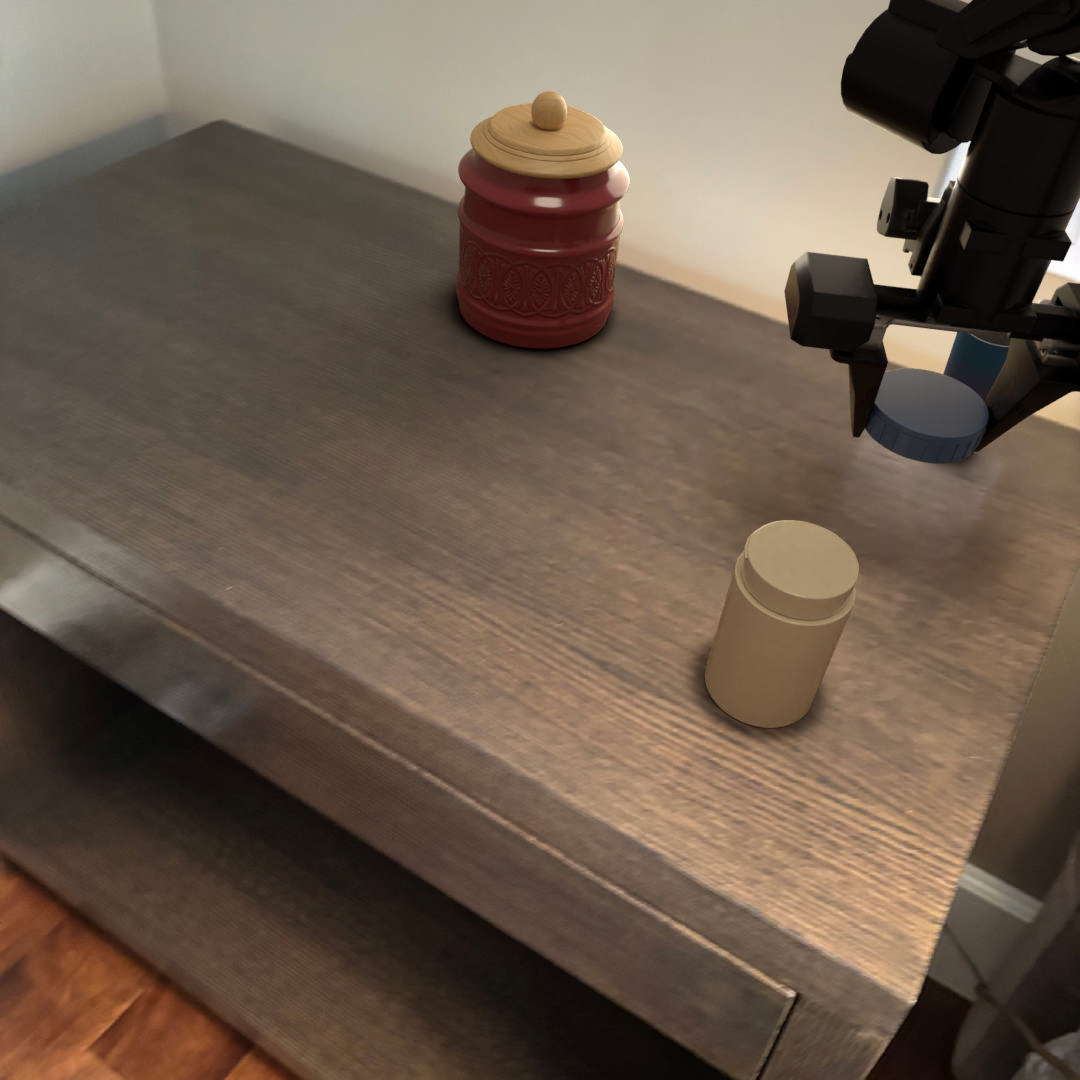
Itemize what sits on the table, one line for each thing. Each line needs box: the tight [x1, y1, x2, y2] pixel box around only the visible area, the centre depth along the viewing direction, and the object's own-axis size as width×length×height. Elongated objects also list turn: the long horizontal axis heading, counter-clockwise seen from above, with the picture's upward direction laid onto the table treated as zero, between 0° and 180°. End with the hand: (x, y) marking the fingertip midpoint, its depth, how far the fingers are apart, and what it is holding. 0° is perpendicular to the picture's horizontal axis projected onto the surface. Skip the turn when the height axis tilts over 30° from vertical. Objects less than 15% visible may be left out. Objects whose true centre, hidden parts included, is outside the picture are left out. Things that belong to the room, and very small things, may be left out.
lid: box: [864, 367, 989, 465], centre depth 60 cm, size 7×7×2 cm
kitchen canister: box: [455, 90, 631, 349], centre depth 79 cm, size 13×13×18 cm
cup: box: [942, 332, 1011, 402], centre depth 72 cm, size 4×4×10 cm
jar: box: [704, 519, 860, 729], centre depth 55 cm, size 6×6×10 cm
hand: (913, 440), depth 61 cm, fingers closed on lid, 7 cm apart
